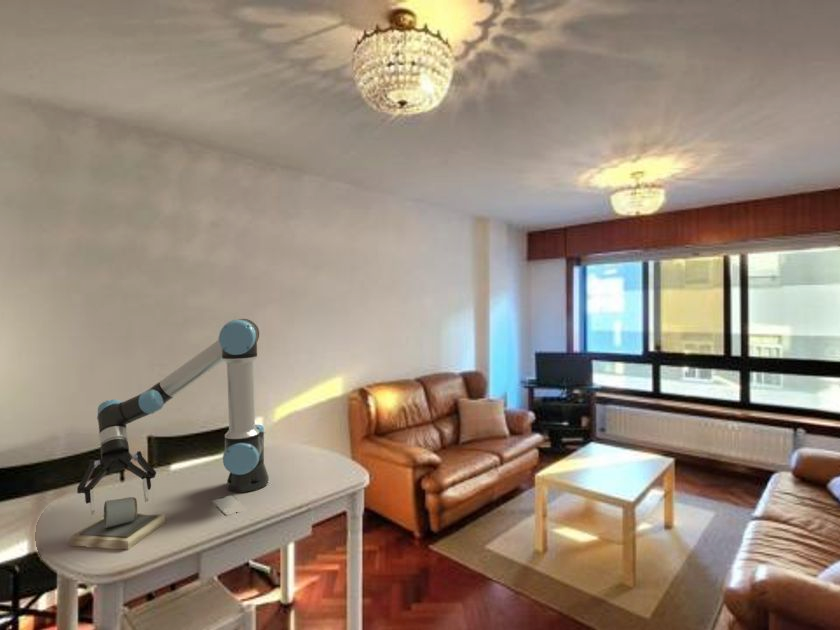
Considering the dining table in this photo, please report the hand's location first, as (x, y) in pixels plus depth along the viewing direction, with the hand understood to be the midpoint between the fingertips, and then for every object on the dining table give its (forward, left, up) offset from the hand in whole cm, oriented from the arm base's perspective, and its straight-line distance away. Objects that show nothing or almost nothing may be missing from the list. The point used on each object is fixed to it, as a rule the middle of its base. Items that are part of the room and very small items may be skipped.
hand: (120, 505), depth 135 cm
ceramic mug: (+3, -3, -7) cm, 8 cm away
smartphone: (-22, -23, -10) cm, 33 cm away
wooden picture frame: (+1, -1, -9) cm, 9 cm away
